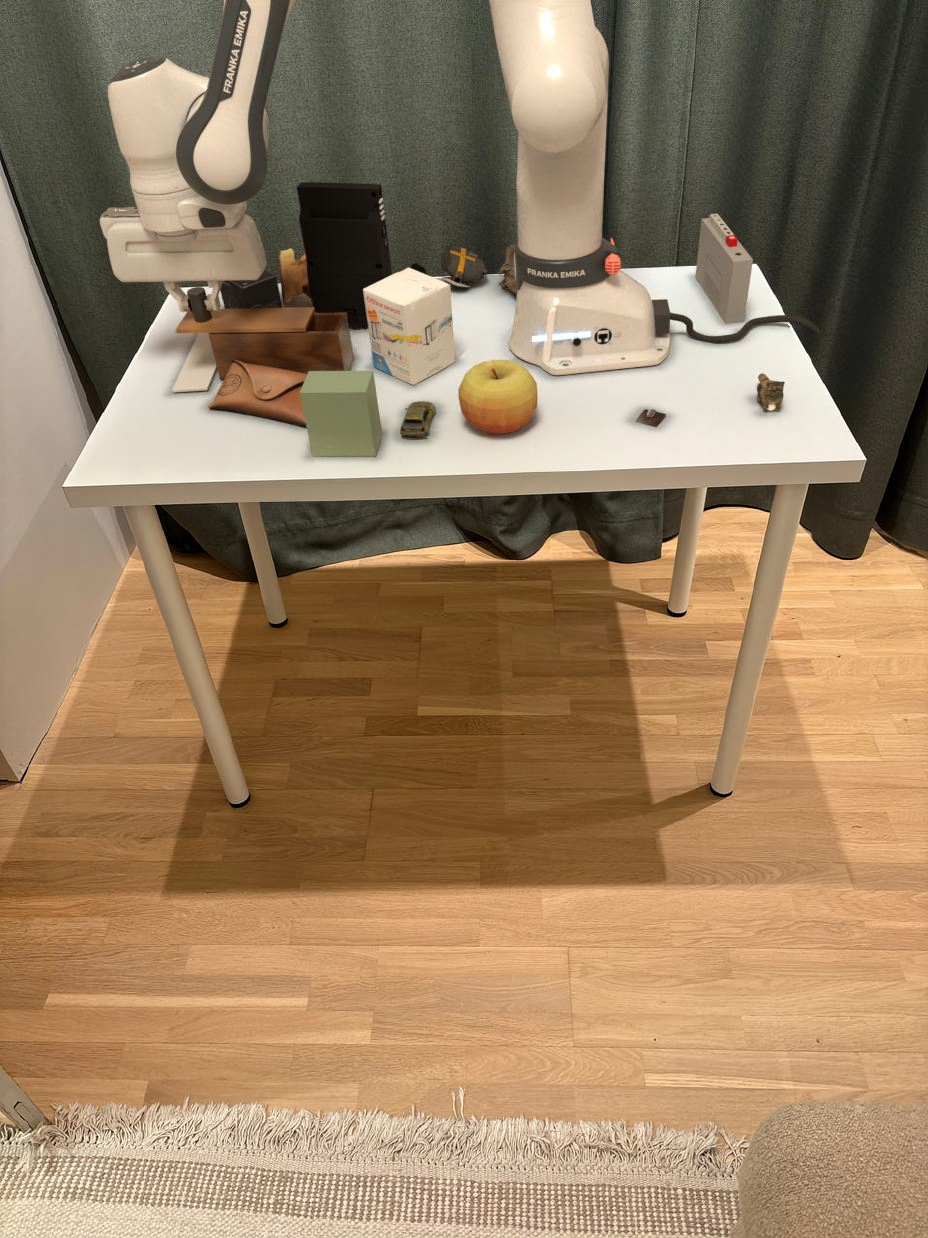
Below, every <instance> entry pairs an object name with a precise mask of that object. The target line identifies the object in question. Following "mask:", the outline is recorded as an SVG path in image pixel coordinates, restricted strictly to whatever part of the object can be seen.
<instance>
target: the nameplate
mask: <svg viewBox="0 0 928 1238" xmlns="http://www.w3.org/2000/svg"><path fill="white" fill-rule="evenodd" d="M208 334H209V333H197V335H196V338H195V340H194V341H193V344H192V346H191V349H190V351H189V353H188V355H187V357H186V359H185V361H184V364H183V365H182V368H181V369H180V371H179V374H178V376H177V379H176V380H175V383H174V384H173V386H172V389H171V392H172V393H184V392H201V391H208V390H209V389H210V385H211V383H212V381H213V378H214V376H215V375H216V372H217V370H218V369H217V365H216V361H215V357H214V354H213V350H212V346H211V342H210V339H209V335H208Z"/></svg>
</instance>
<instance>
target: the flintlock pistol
mask: <svg viewBox="0 0 928 1238" xmlns="http://www.w3.org/2000/svg"><path fill="white" fill-rule="evenodd" d="M515 246H516V244H509V245H508V246H507V247H506V248H505V251H504V252H505V262H504V263H503V264H502V266H501V267H500V268H499V270H498V271H497V272H496V273H497V275H499V276H501V275H502V276H503V280H501V281H499V285H500V286H501V290H502V291H503V290H508V289H509V290H510V291H511V292H512V293H513V294H516V295H517V287H516V281H515V275H514V252H515Z"/></svg>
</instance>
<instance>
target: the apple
mask: <svg viewBox="0 0 928 1238" xmlns="http://www.w3.org/2000/svg"><path fill="white" fill-rule="evenodd" d="M538 399H539V398H538V384H537V382H536V380H535V378H534V376H533V375H532V373H531V372H530V371H529V370H528V369H527V367H525V365H524V366H523V364H520V363H518V362H516V361H512V360H508V359H491V360H485V361H482V362H480V363H478V364H477V363H476V364H474V365H473V366H472V367H471V368H470V369H469V370H467V372H465V374H464V376H463V378H462V379H461V382H460V385H459V387H458V401H459V402H458V403H459V406H460V410H461V413H462V415H463V416H464V418H465V419H466V420H467V422H468V423H470V424H471V425H472V426H473V427H474V428H476V429H478V430H480V431H482V432H485V433H489V434H496V435H498V434H507V433H511V432H515V431H517V430H518V429H520V428H521V427H523V426H525V425H526V424H528V422H529V421H530V420H531V418H532V417H533V416H534V413H535V411H536V410H537V408H538Z"/></svg>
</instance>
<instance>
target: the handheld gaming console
mask: <svg viewBox="0 0 928 1238" xmlns="http://www.w3.org/2000/svg"><path fill="white" fill-rule="evenodd" d="M296 191H297V197H298V203H299V215H298V222H299V227H300V232H301V238H302V239H301V240H302V245H304V247H303V250H304V249H305V255H306V261H307V276H308V284H309V292H310V296H311V299H310V300H311V305H312V307H314V308H315V313H340V312H347V318H348V324H349V329H353V330H360V329H369V328H368V321H367V314H366V307H365V300H364V293H363V289H364V288H366V287H368V286H370V285H372V284H374V283H376V282H379V281H381V280H383V279H385V278H387V277H389V276H391V275H393V271H392V262H391V255H390V254H391V253H390V246H389V238H388V231H387V222H386V213H385V204H384V198H383V190H382V184H381V183H360V182H359V183H353V182H350V183H348V182H317V181H314V182H313V181H309V182H307V181H305V182H304V181H303V182H302V181H301V182H300V183H299V184H298V185H297V186H296Z"/></svg>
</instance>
